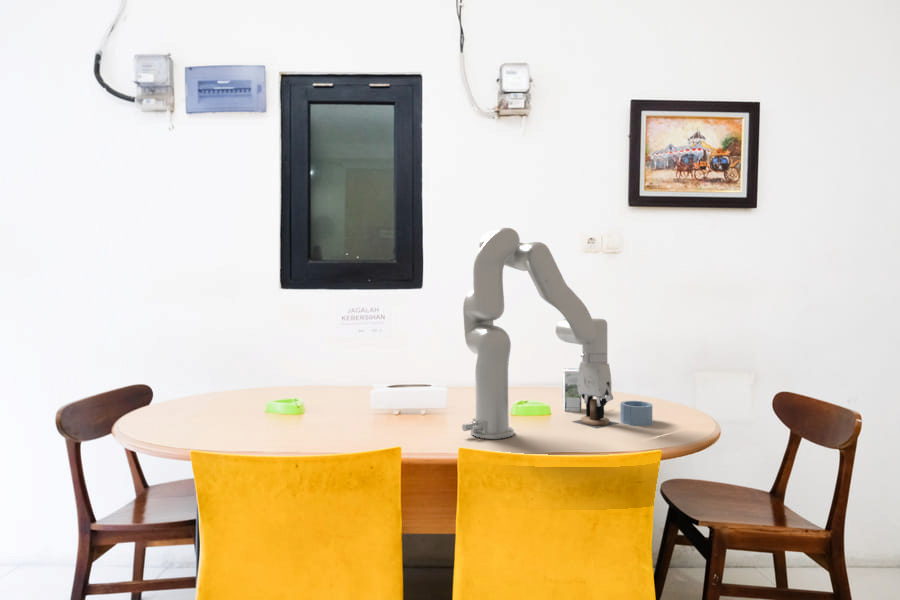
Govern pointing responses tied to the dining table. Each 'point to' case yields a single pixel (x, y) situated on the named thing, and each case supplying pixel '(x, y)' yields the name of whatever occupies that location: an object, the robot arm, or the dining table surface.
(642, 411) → the blue round pot
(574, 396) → the syrup box
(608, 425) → the mat
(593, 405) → the lid
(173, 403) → the dining table surface
